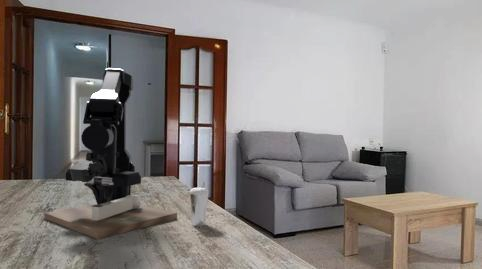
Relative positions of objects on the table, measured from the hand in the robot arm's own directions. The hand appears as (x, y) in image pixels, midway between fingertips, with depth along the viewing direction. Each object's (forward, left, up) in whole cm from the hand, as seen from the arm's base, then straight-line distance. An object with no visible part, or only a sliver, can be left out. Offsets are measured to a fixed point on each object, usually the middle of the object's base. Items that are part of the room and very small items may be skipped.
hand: (102, 211), depth 85 cm
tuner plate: (-3, -1, -3) cm, 5 cm away
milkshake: (-14, +19, -3) cm, 24 cm away
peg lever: (-4, +1, -1) cm, 4 cm away
